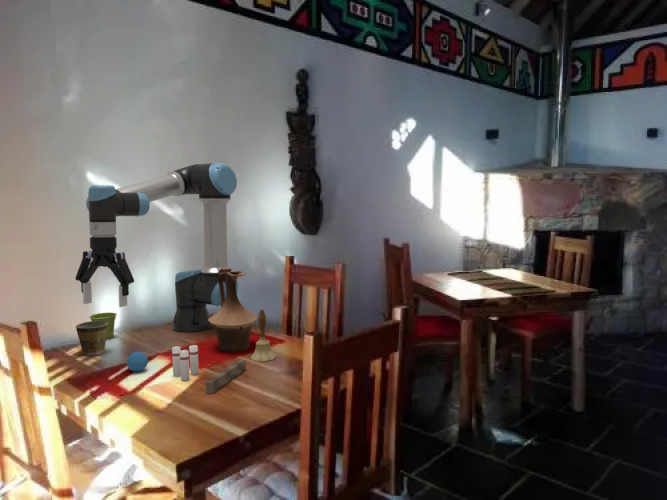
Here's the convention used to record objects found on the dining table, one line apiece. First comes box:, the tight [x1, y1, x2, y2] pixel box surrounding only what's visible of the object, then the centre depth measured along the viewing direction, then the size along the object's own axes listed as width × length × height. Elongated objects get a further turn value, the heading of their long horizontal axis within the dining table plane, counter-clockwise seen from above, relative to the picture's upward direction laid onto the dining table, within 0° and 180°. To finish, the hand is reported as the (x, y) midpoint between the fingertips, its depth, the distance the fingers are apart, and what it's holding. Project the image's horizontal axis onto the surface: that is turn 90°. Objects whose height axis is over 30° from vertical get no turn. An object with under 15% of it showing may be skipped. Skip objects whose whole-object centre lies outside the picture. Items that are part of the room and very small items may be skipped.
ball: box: [126, 351, 149, 372], centre depth 163 cm, size 6×6×6 cm
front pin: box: [171, 345, 181, 378], centre depth 159 cm, size 2×2×8 cm
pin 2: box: [188, 344, 200, 376], centre depth 160 cm, size 2×2×8 cm
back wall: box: [205, 358, 247, 394], centre depth 154 cm, size 20×2×3 cm, turn 163°
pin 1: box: [180, 349, 191, 382], centre depth 155 cm, size 2×2×8 cm
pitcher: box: [208, 267, 258, 353], centre depth 185 cm, size 18×17×28 cm
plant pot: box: [89, 312, 118, 340], centre depth 200 cm, size 9×9×9 cm
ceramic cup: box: [75, 320, 108, 357], centre depth 182 cm, size 13×10×10 cm
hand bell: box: [250, 309, 277, 363], centre depth 174 cm, size 8×8×16 cm
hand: (105, 304), depth 164 cm, fingers open, 13 cm apart
